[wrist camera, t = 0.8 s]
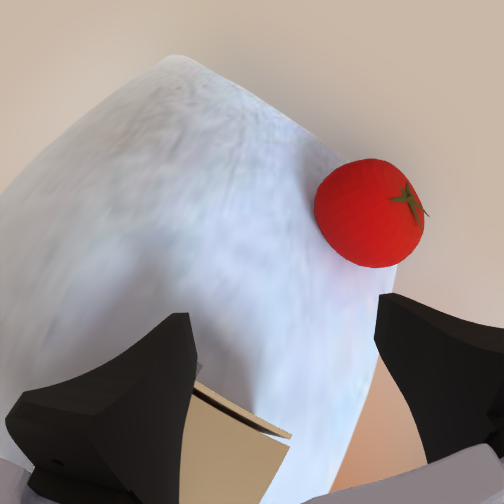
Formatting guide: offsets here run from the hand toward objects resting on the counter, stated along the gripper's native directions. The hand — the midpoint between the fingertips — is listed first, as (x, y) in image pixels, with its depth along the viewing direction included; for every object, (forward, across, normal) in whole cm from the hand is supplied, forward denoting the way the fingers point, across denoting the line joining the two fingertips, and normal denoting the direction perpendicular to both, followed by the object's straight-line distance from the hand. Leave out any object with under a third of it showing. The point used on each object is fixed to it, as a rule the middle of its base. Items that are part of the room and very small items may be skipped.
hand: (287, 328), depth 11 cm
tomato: (+27, -10, +4) cm, 29 cm away
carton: (+5, +9, +13) cm, 17 cm away
